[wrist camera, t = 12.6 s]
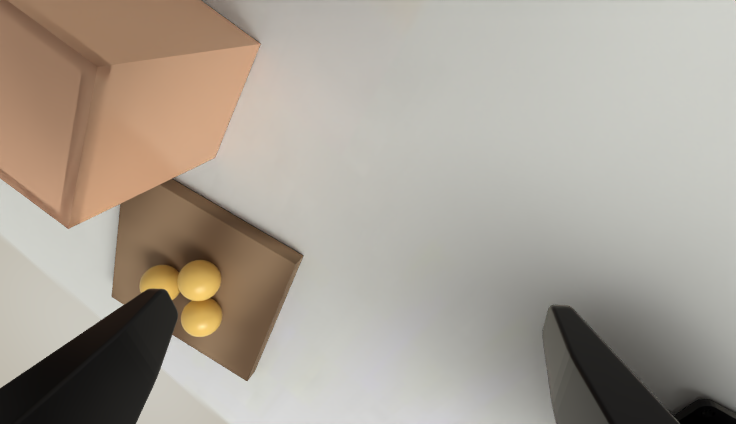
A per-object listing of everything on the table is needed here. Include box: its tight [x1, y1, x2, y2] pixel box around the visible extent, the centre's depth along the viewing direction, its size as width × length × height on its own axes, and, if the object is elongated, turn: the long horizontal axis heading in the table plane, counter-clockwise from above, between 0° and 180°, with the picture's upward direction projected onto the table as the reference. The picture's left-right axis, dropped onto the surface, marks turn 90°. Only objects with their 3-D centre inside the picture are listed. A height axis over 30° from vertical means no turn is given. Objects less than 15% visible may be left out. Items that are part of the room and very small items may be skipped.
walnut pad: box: [112, 179, 303, 381], centre depth 28 cm, size 12×12×1 cm
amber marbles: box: [139, 260, 222, 337], centre depth 27 cm, size 6×6×2 cm
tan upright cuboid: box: [0, 0, 260, 229], centre depth 18 cm, size 7×7×9 cm
